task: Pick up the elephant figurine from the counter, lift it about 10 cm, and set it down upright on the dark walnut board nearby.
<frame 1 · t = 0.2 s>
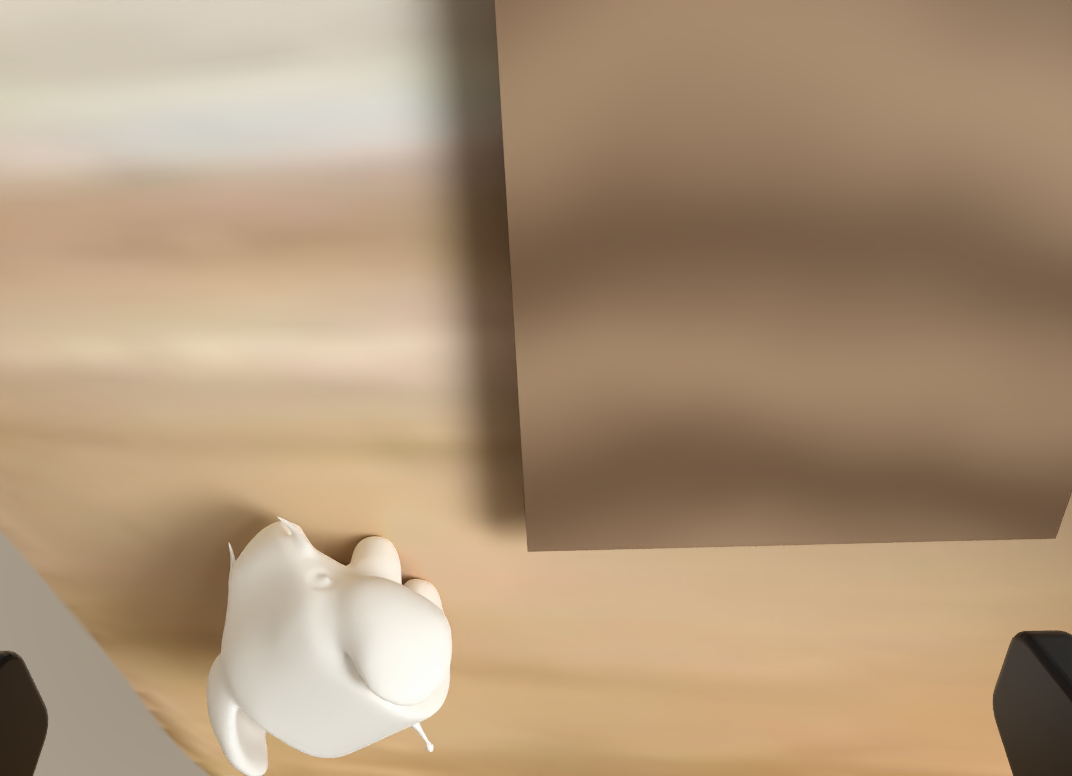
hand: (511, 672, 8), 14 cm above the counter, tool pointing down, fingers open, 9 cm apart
elephant figurine: (364, 565, 27), on the counter
walnut board: (812, 243, 21), on the counter
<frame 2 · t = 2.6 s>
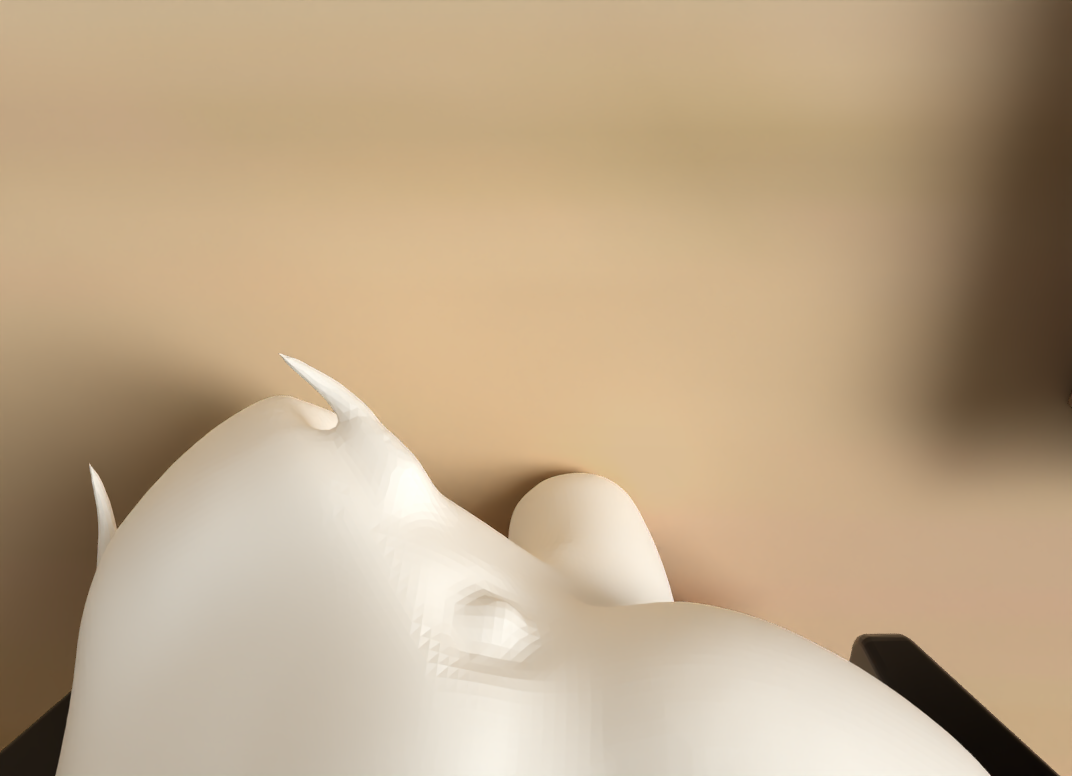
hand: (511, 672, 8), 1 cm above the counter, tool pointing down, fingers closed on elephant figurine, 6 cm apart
elephant figurine: (525, 564, 9), on the counter, touching gripper
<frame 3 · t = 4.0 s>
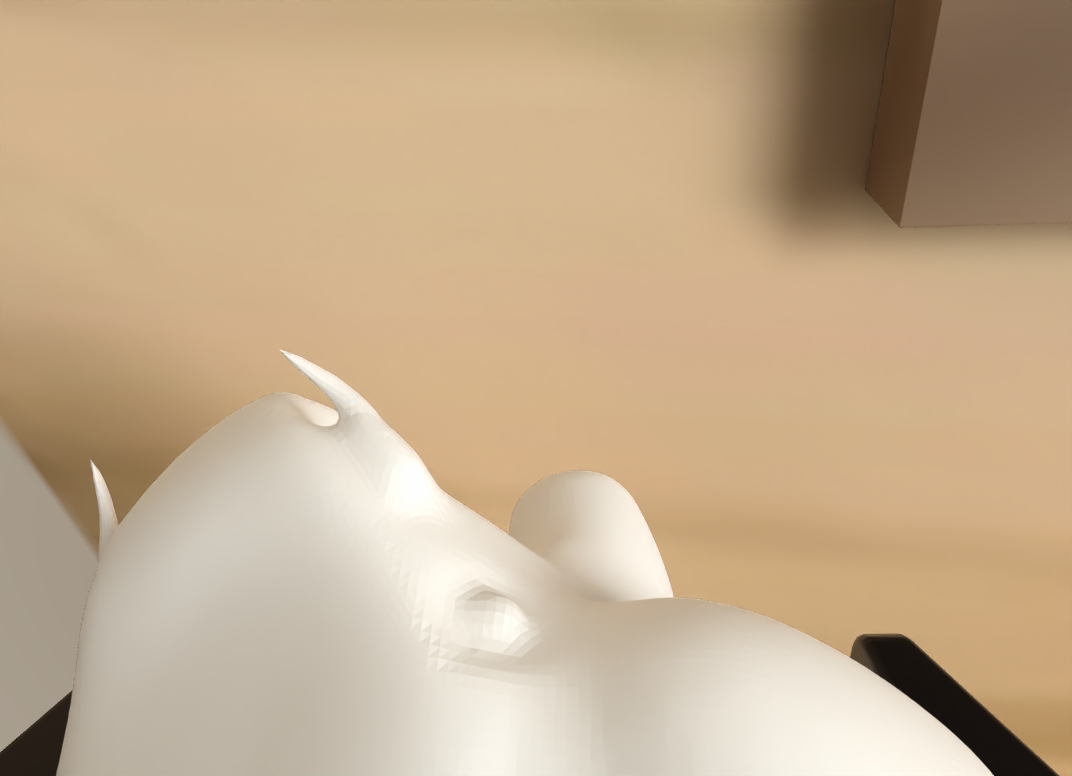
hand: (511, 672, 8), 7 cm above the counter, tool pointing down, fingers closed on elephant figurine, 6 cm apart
elephant figurine: (525, 562, 9), point 6 cm above the counter, touching gripper
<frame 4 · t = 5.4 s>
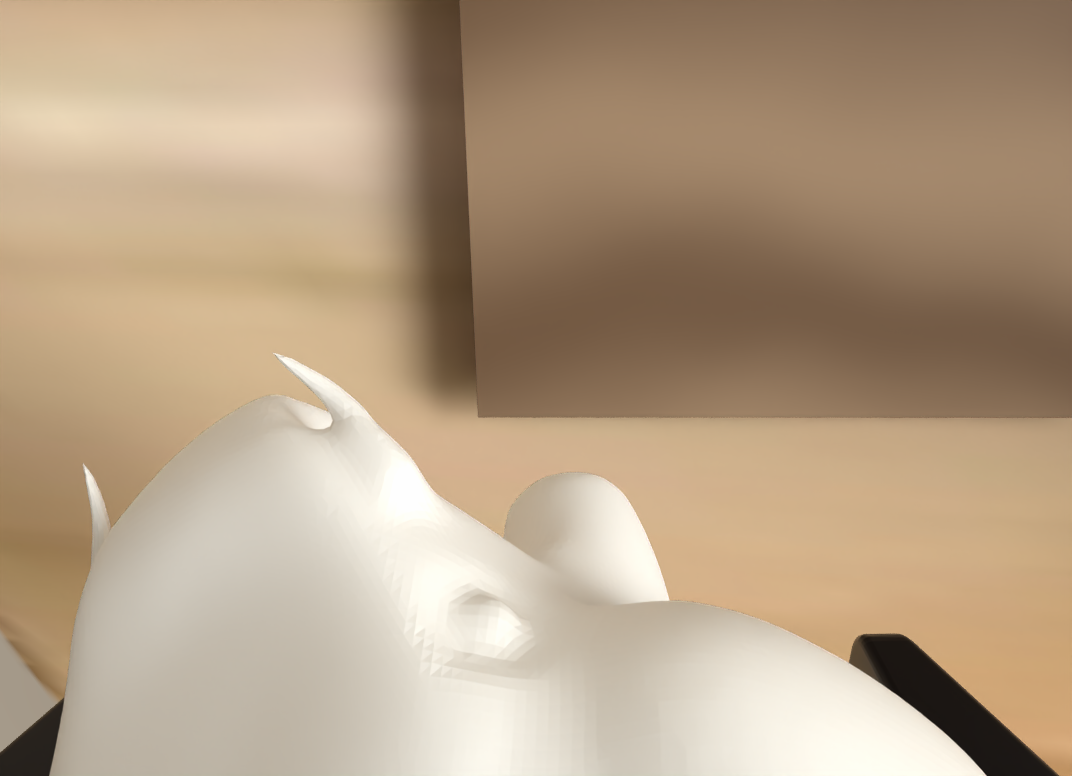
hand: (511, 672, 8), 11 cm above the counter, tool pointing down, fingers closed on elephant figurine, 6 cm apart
elephant figurine: (521, 564, 9), point 10 cm above the counter, touching gripper
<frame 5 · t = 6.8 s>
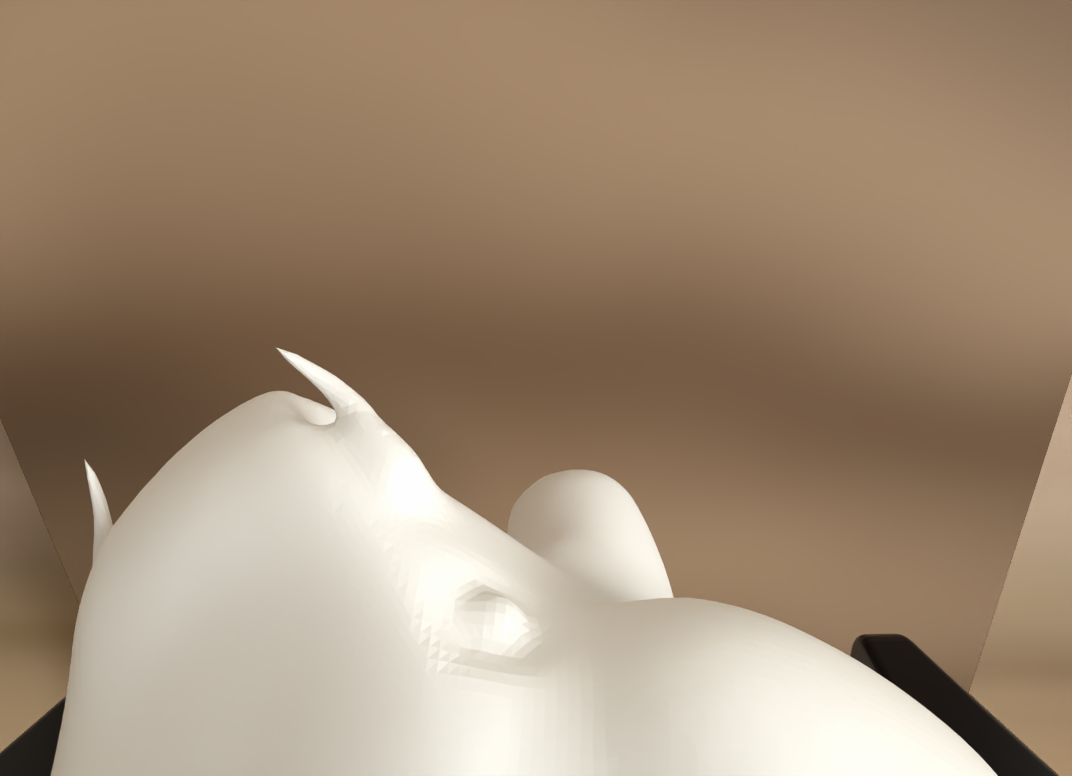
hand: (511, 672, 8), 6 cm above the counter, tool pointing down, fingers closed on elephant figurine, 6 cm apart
elephant figurine: (524, 562, 9), point 4 cm above the counter, touching gripper
walnut board: (526, 349, 13), on the counter
when the fingers open (4 cm above the counter, at t = 7.9 s): elephant figurine drops 2 cm, resting on walnut board.
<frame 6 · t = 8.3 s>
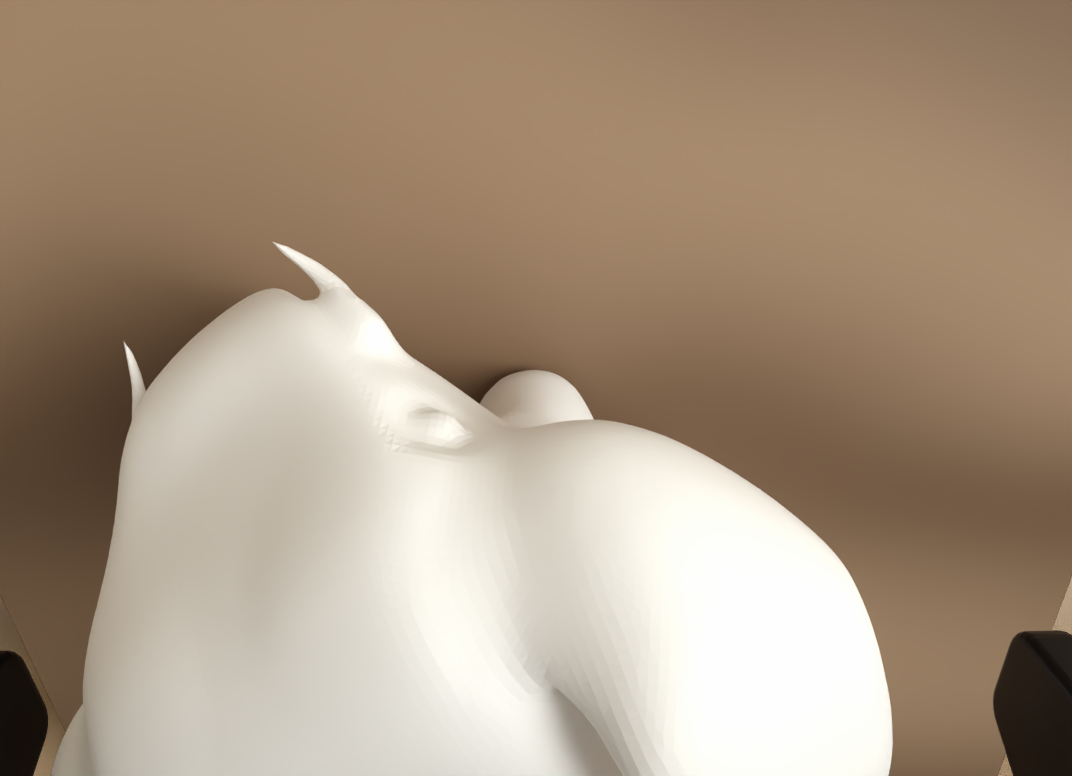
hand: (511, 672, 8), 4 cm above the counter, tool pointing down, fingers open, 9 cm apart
elephant figurine: (494, 460, 11), point 1 cm above the counter, touching walnut board
walnut board: (524, 404, 12), on the counter
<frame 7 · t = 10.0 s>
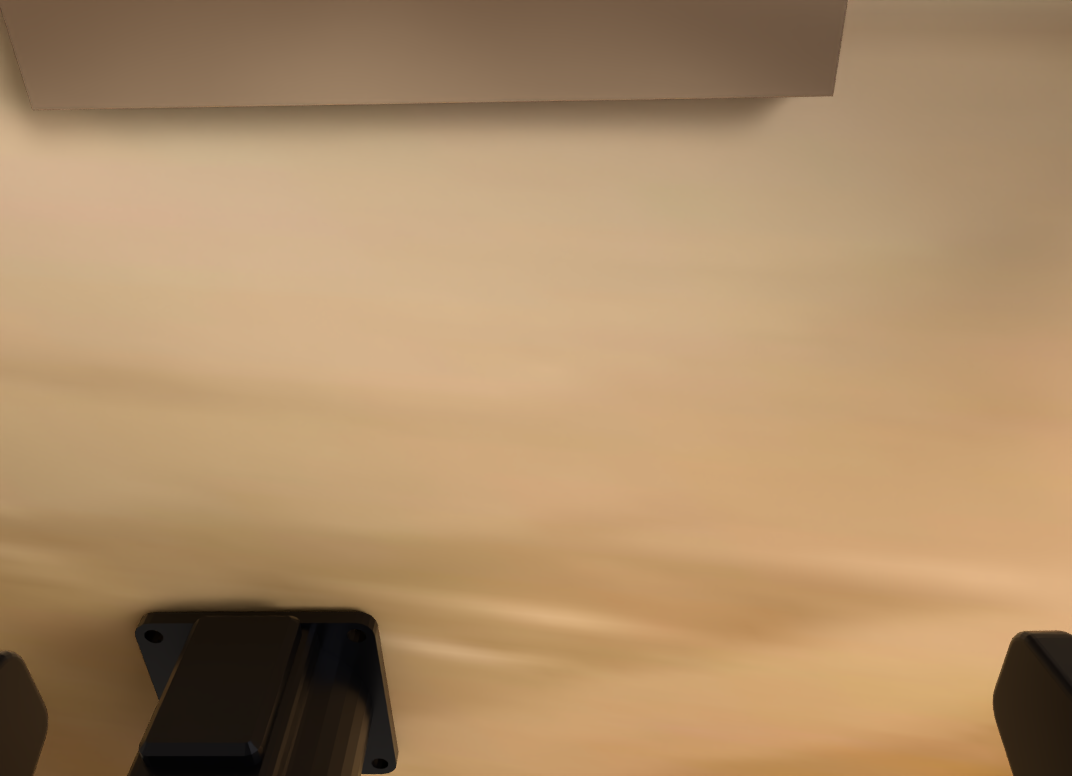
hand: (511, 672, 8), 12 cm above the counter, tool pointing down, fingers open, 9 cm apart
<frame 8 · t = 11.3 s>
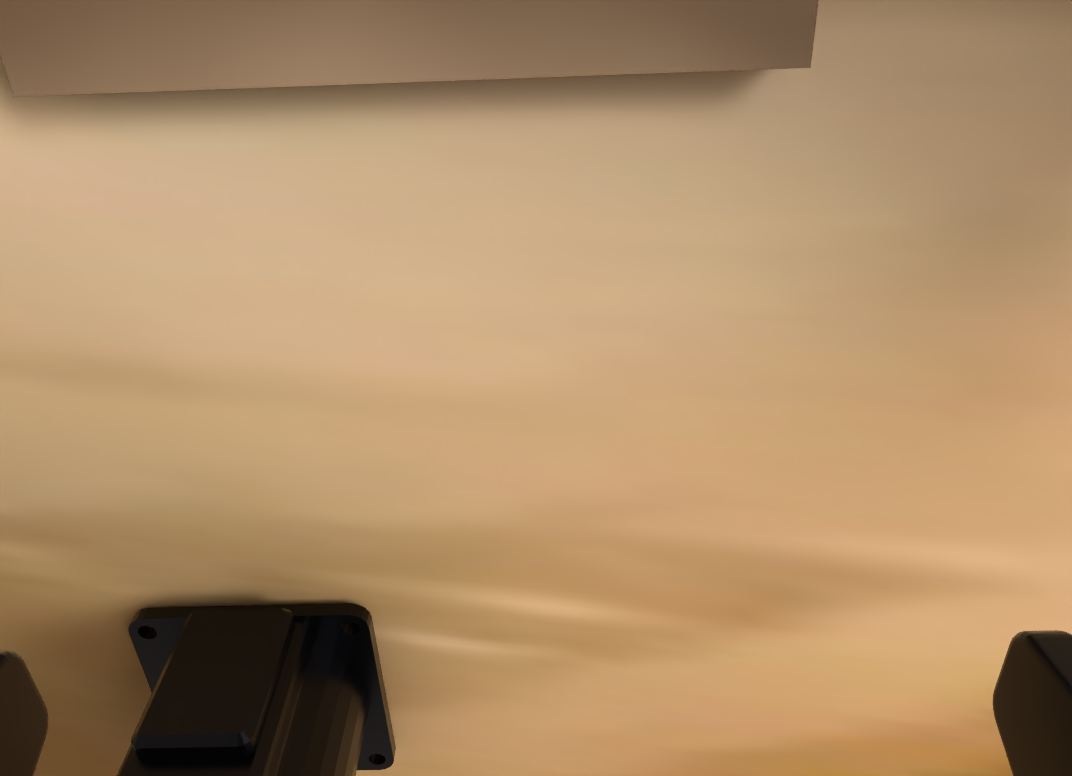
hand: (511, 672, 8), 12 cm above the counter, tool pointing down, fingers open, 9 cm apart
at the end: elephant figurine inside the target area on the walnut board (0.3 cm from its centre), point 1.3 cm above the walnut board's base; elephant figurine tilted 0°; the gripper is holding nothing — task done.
